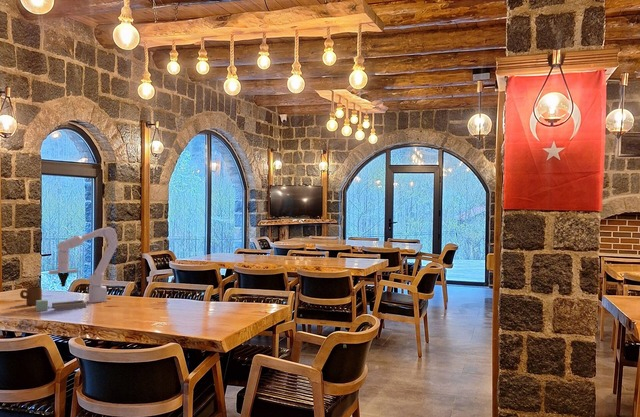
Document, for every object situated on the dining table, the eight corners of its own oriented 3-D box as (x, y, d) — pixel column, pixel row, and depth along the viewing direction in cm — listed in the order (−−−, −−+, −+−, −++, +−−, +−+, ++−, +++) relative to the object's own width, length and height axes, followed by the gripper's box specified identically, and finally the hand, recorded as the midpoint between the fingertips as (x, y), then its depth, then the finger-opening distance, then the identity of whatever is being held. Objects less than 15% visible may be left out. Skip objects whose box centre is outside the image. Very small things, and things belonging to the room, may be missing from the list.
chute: (82, 304, 303) (82, 300, 303) (86, 307, 294) (86, 303, 294) (51, 307, 294) (51, 302, 294) (54, 310, 286) (54, 305, 286)
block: (46, 308, 290) (46, 299, 290) (47, 310, 286) (47, 300, 286) (35, 309, 287) (35, 300, 287) (37, 311, 283) (37, 301, 283)
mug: (24, 307, 292) (24, 290, 292) (15, 306, 296) (15, 289, 296) (44, 304, 303) (44, 287, 303) (35, 302, 306) (35, 286, 306)
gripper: (75, 261, 312) (75, 284, 313) (48, 262, 304) (47, 286, 304) (78, 262, 307) (78, 285, 307) (50, 263, 298) (49, 287, 298)
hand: (63, 286), depth 305 cm, fingers closed
